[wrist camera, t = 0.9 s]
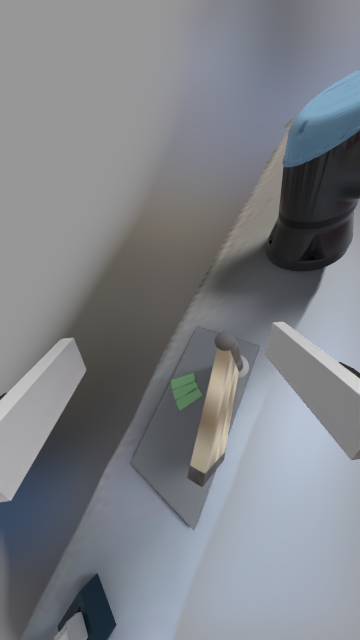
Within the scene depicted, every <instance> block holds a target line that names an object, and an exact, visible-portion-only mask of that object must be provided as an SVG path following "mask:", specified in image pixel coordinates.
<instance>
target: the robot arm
mask: <svg viewBox="0 0 360 640" xmlns="http://www.w3.org/2000/svg"><path fill="white" fill-rule="evenodd" d="M283 166H284V168H283V178H282V188H281V198H280V207H279V216H278V219H277V221H276V223H275V225H274V227H273V230H272V232H271V234H270V236H269V238H268V243H267V254H268V257H269V258H270V260H271V261H272V262H273V263H274V264H276V265H278V266H280V267H282V268H285V269H289V270H295V271H308V270H315V269H319V268H323V267H325V266H328V265H330V264H332V263H334V262H336V261H337V260H338V259H340V258H341V257H342V256H343V255H344V253H345V252H346V251H347V249H348V247H349V245H350V243H351V241H352V237H353V216H354V209H355V207H356V205H357V203H358V201H359V199H360V69H359V70H357V71H355V72H353V73H351V74H350V75H348V76H346V77H345V78H343V79H341V80H339V81H338V82H336V83H335V84H333V85H331V86H330V87H328V88H327V89H326V90H324V91H323V92H321V93H320V94H319V95H318V96H316V97H315V98H314V99H312V100H311V101H310V102H309V103H308V104H307V105H306V106H305V107H304V108H303V109H302V110H301V111H300V112H299V113H298V115H297V116H296V118H295V119H294V121H293V123H292V125H291V127H290V129H289V133H288V138H287V145H286V151H285V156H284V158H283ZM265 355H266V357H267V358H268V359H269V360H270V362H271V363H272V364H273V365H274V366H275V368H276V369H277V370H278V371H279V373H280V374H281V375H282V376H283V377H284V379H285V380H286V381H287V382H288V383H289V385H290V386H291V387H292V388H293V390H294V391H295V392H296V393H297V394H298V396H299V397H300V398H301V399H302V401H303V402H304V403H305V404H306V405H307V407H308V408H309V409H310V410H311V411H312V413H313V414H314V415H315V416H316V418H317V419H318V420H319V421H320V423H321V424H322V425H323V426H324V427H325V428H326V430H327V431H328V432H329V433H330V435H331V436H332V437H333V438H334V439H335V441H336V442H337V443H338V444H339V446H340V447H341V448H342V449H343V450H344V452H345V453H346V454H347V455H348V456H349V458H350V459H351V460H356V459H360V373H359V372H357V371H356V370H355V369H353V368H351V367H349V366H347V365H345V364H343V363H341V362H337V361H336V360H334V359H333V358H332V357H330V356H329V355H328V354H326V353H325V352H324V351H322V350H321V349H319V348H318V347H317V346H315V345H314V344H313V343H311V342H310V341H309V340H307V339H306V338H305V337H303V336H302V335H301V334H299V333H298V332H297V331H295V330H294V329H293V328H291V327H290V326H289V325H287V324H286V323H285V322H273V323H272V327H271V331H270V335H269V340H268V344H267V348H266V352H265ZM85 372H86V368H85V365H84V363H83V360H82V358H81V355H80V353H79V350H78V348H77V345H76V343H75V340H74V338H65V339H61V340H60V341H59V342H58V343H57V344H56V345H55V346H54V347H53V348H52V349H51V350H50V351H49V352H48V353H47V354H46V355H45V356H44V357H43V358H42V359H41V360H40V361H39V362H38V363H37V364H36V365H35V366H34V367H33V368H32V369H31V370H30V371H29V372H28V373H27V374H26V375H25V376H24V377H23V378H22V379H21V380H20V381H19V382H18V383H17V384H16V385H15V386H14V387H13V388H12V389H11V390H10V391H9V392H8V393H5V394H3V395H2V396H0V502H5V501H11V500H12V498H13V496H14V494H15V493H16V491H17V489H18V488H19V485H20V484H21V482H22V481H23V479H24V477H25V476H26V474H27V472H28V470H29V469H30V467H31V465H32V463H33V462H34V460H35V458H36V457H37V455H38V453H39V451H40V450H41V448H42V446H43V444H44V443H45V441H46V439H47V438H48V436H49V434H50V432H51V431H52V429H53V427H54V425H55V424H56V422H57V420H58V418H59V417H60V415H61V413H62V412H63V410H64V408H65V406H66V405H67V403H68V401H69V399H70V398H71V396H72V394H73V393H74V391H75V389H76V387H77V386H78V384H79V382H80V381H81V378H82V377H83V375H84V374H85Z"/></svg>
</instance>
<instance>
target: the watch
mask: <svg viewBox="0 0 360 640" xmlns="http://www.w3.org/2000/svg"><path fill="white" fill-rule="evenodd" d="M115 626H116V623H115V620H114V617H113V615H112V612H111V609H110V606H109V604H108V601H107V598H106V595H105V593H104V590H103V587H102V584H101V582H100V579H99V576H98V574H97V575H96V576H95V577H93V578H92V579H91V580H90V581H89V582H88V583H87V584H86V585H85V586H84V587H83V588H82V589H81V590H80V592H79V593H78V595H77V596H76V598H75V600H74V601H73V603H72V604H71V606H70V607H69V609H68V611H67V612H66V614H65V615H64V617H63V619H62V620H61V622H60V623H59V625H58V631H59V633H58V634H57V635H56V636H55V637H54V639H53V640H108V638H109V637H110V635H111V633H112V631H113V630H114V628H115Z"/></svg>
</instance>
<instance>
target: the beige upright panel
mask: <svg viewBox="0 0 360 640" xmlns="http://www.w3.org/2000/svg"><path fill="white" fill-rule="evenodd" d="M215 345H216V347H217V352H216V356H215V360H214V364H213V369H212V373H211V377H210V382H209V386H208V390H207V395H206V399H205V403H204V407H203V412H202V416H201V420H200V425H199V429H198V433H197V438H196V442H195V446H194V450H193V455H192V459H191V463H190V467H189V471H188V476H187V478H188V479H189V480H191V481H192V482H194V483H196V484H197V485H199V486H201V487H203V486H204V485H205V483H206V482H207V481H208V479H209V478H210V477H211V476H212V474H213V473H214V472H215V470H216V469H217V468H218V467H219V465H220V464H221V463H222V462H223V460H224V456H225V450H226V444H227V438H228V432H229V427H230V421H231V415H232V409H233V403H234V398H235V392H236V386H237V380H238V375H239V372H240V371H241V370H242V369H243V362H242V358H241V354H240V351H239V347H238V343H237V340H236V337H235V335H234V334H233V333H232V332H229V331H223V332H220V333H219V334H217V336H216V337H215Z"/></svg>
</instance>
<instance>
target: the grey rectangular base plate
mask: <svg viewBox="0 0 360 640" xmlns="http://www.w3.org/2000/svg"><path fill="white" fill-rule="evenodd" d="M217 334H219V333H217V332H214V331H211V330H207V329H204V328H201V327H198V326H197V328H196V330H195V332H194V334H193V336H192V338H191V340H190V342H189V344H188V346H187V348H186V350H185V352H184V355H183V357H182V359H181V361H180V363H179V365H178V367H177V369H176V371H175V373H174V375H173V377H172V379H171V381H170V383H169V385H168V387H167V389H166V391H165V393H164V395H163V397H162V399H161V402H160V404H159V406H158V408H157V410H156V412H155V414H154V416H153V418H152V420H151V422H150V424H149V426H148V428H147V430H146V432H145V434H144V436H143V438H142V440H141V442H140V444H139V447H138V449H137V451H136V453H135V455H134V457H133V459H132V461H131V464H132V465H133V466H134V467H135V468H136V470H137V471H138V472H139V473H140V474H141V475H142V476H143V477H144V478H145V479H146V480H147V481H148V482H149V483H150V484H151V485H152V487H153V488H154V489H155V490H156V491H157V492H158V493H159V494H160V495H161V496H162V497H163V498H164V499H165V500H166V501H167V502H168V504H169V505H170V506H171V507H172V508H173V509H174V510H175V511H176V512H177V513H178V514H179V515H180V516H181V517H182V518H183V519H184V521H185V522H186V523H187V524H188V525H189V526H190V527H191V528H192V529H193V530H194V529H195V527H196V525H197V523H198V520H199V517H200V515H201V512H202V509H203V506H204V503H205V500H206V498H207V495H208V492H209V489H210V486H211V483H212V481H213V478H214V475H215V472H216V470H215V472H214V473H213V474H212V476H211V477H210V478H209V479H208V481H207V482H206V483H205V485H204V486H203V487H201V486H199V485H197V484H196V483H194V482H192V481H191V480H189V479H188V478H187V476H188V471H189V467H190V463H191V459H192V455H193V450H194V446H195V442H196V438H197V433H198V429H199V425H200V420H201V416H202V412H203V407H204V403H205V399H206V395H207V390H208V386H209V382H210V377H211V373H212V369H213V364H214V360H215V356H216V352H217V347H216V345H215V337H216V336H217ZM236 340H237V343H238V347H239V351H240V354H241V358H242V362H243V369H242V370H241V371H240V372H239V375H238V380H237V386H236V392H235V398H234V403H233V409H232V415H231V421H230V427H229V432H230V430H231V427H232V424H233V421H234V418H235V415H236V413H237V410H238V407H239V404H240V401H241V398H242V396H243V393H244V390H245V387H246V384H247V381H248V379H249V376H250V373H251V370H252V367H253V364H254V362H255V359H256V356H257V353H258V350H259V346H258V345H255V344H251V343H248V342H245V341H242V340H239V339H236ZM229 432H228V435H229Z"/></svg>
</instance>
